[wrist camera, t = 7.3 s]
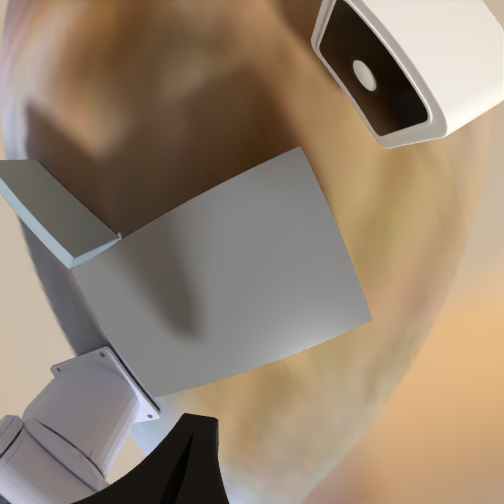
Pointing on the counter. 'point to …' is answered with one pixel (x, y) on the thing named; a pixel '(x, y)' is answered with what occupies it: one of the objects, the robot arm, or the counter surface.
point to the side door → (53, 212)
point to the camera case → (227, 280)
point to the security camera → (413, 63)
